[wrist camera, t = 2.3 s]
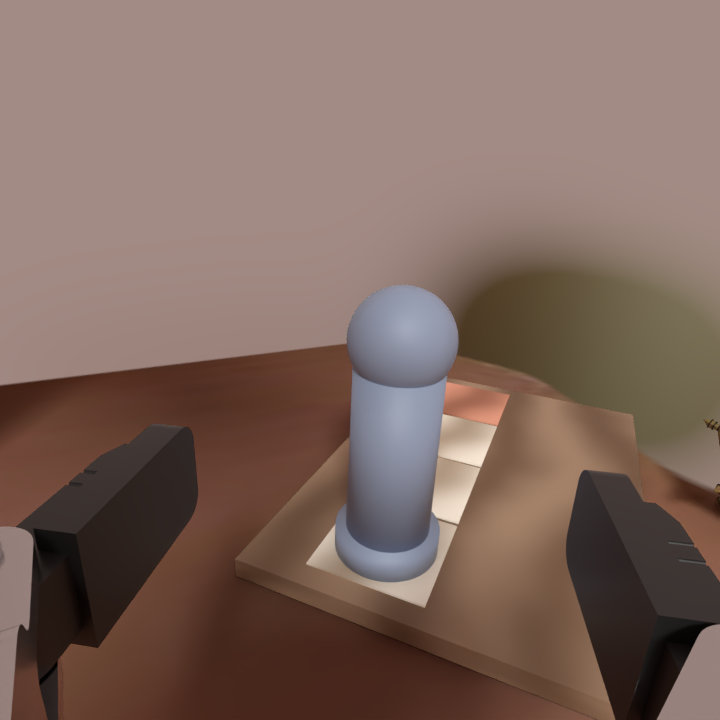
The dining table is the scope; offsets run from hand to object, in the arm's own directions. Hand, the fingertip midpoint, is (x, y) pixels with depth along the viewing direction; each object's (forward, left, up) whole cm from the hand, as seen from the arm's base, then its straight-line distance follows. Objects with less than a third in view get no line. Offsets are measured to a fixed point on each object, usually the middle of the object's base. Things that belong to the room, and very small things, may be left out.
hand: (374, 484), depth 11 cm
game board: (0, +20, -12) cm, 23 cm away
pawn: (-3, +11, -11) cm, 16 cm away
